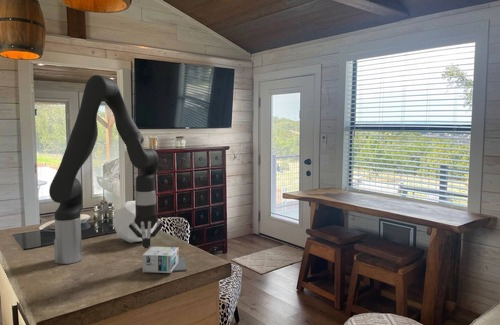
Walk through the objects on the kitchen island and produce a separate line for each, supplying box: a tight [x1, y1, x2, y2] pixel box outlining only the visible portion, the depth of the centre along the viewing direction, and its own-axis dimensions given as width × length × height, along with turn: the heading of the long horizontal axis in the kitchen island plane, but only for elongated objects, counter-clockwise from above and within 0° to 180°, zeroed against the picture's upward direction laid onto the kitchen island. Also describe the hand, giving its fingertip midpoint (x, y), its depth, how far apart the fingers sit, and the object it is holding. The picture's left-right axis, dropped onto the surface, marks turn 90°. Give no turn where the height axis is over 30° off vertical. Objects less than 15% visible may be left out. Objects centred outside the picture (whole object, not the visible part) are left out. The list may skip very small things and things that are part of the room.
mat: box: [152, 256, 187, 274], centre depth 151 cm, size 12×14×1 cm
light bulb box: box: [142, 246, 180, 274], centre depth 146 cm, size 11×7×11 cm
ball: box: [112, 200, 157, 244], centre depth 182 cm, size 19×20×20 cm
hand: (146, 247), depth 147 cm, fingers closed
